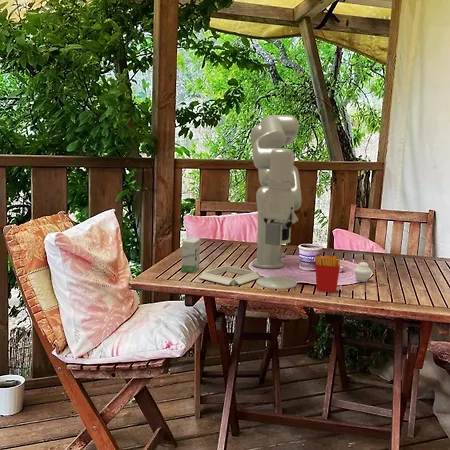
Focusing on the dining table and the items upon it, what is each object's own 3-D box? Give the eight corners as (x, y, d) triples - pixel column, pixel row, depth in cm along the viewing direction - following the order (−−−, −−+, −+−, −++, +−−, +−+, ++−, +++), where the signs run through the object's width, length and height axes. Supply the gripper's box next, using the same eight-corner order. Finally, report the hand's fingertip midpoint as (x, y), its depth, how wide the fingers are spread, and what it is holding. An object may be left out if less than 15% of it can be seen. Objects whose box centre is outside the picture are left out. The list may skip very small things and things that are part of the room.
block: (278, 240, 188) (278, 220, 187) (290, 242, 185) (290, 222, 184) (265, 243, 182) (265, 223, 181) (277, 245, 179) (278, 225, 177)
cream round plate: (271, 276, 195) (271, 274, 195) (304, 283, 187) (304, 281, 187) (248, 283, 185) (248, 282, 184) (282, 291, 176) (282, 289, 176)
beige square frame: (225, 268, 205) (225, 263, 205) (265, 277, 194) (265, 271, 193) (193, 277, 191) (193, 272, 191) (234, 287, 179) (234, 281, 179)
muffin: (359, 283, 187) (360, 264, 186) (350, 279, 193) (351, 260, 192) (374, 282, 189) (375, 263, 188) (365, 278, 195) (366, 259, 194)
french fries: (339, 290, 179) (341, 255, 177) (338, 293, 175) (340, 257, 173) (313, 287, 181) (315, 253, 179) (312, 290, 178) (313, 255, 176)
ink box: (187, 266, 207) (187, 236, 205) (200, 267, 206) (200, 237, 204) (181, 272, 199) (181, 241, 197) (194, 273, 198) (194, 241, 196)
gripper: (253, 185, 182) (251, 237, 185) (295, 188, 172) (293, 243, 175) (265, 183, 188) (263, 234, 191) (307, 187, 178) (305, 240, 181)
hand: (278, 238), depth 183 cm, fingers closed on block, 5 cm apart
